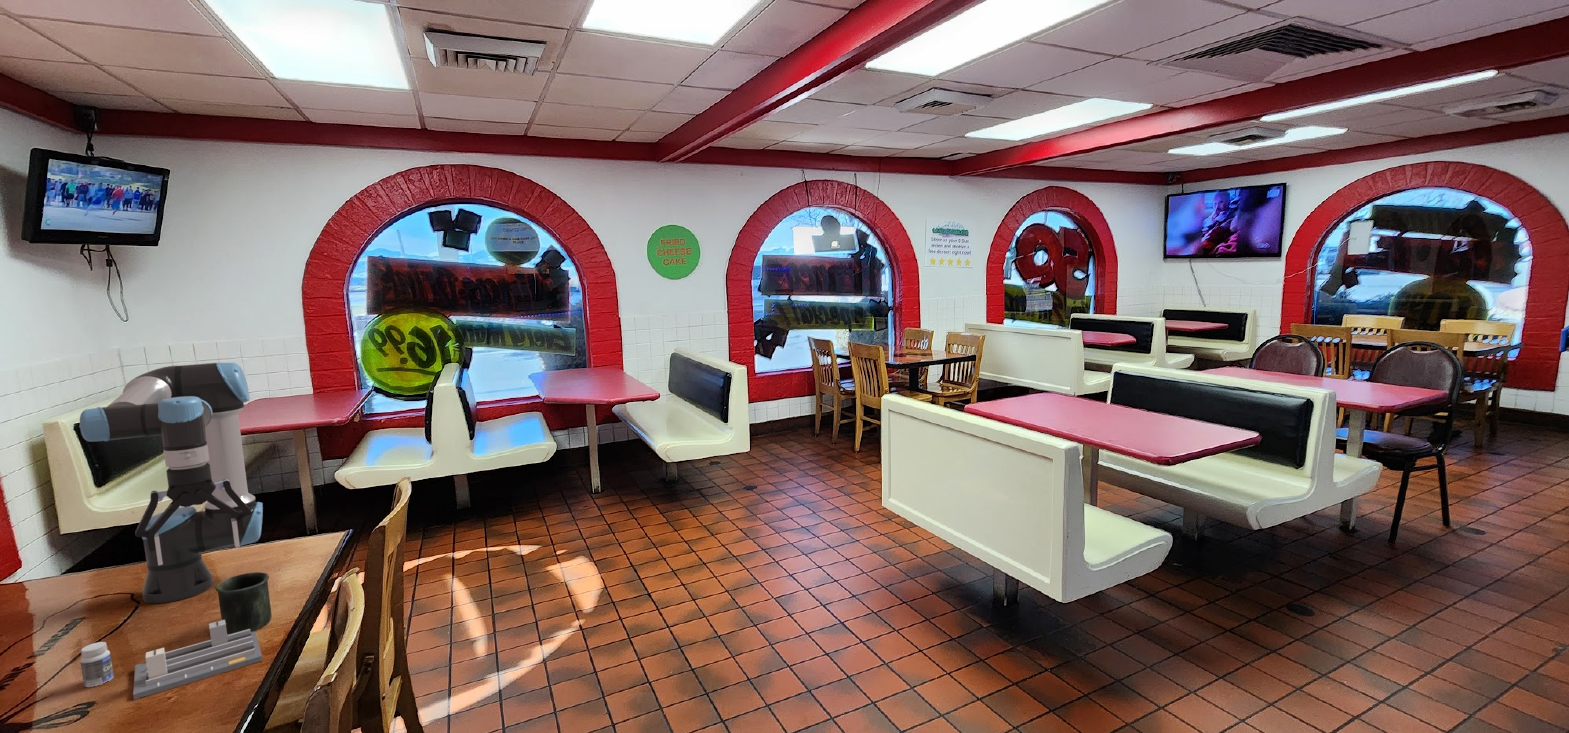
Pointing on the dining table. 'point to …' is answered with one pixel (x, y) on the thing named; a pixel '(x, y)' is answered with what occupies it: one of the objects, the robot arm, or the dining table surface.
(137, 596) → the dining table surface
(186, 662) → the console
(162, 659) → the fader cap
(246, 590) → the mug
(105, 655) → the pill bottle
